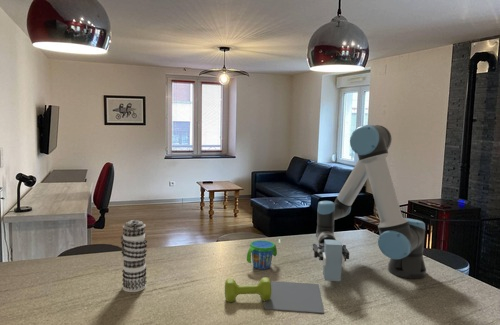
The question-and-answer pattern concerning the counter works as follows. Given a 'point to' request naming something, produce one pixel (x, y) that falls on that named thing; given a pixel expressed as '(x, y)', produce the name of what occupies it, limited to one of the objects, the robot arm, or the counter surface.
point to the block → (332, 260)
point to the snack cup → (261, 253)
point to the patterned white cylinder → (134, 256)
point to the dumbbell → (248, 289)
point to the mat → (295, 297)
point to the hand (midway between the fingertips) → (334, 262)
